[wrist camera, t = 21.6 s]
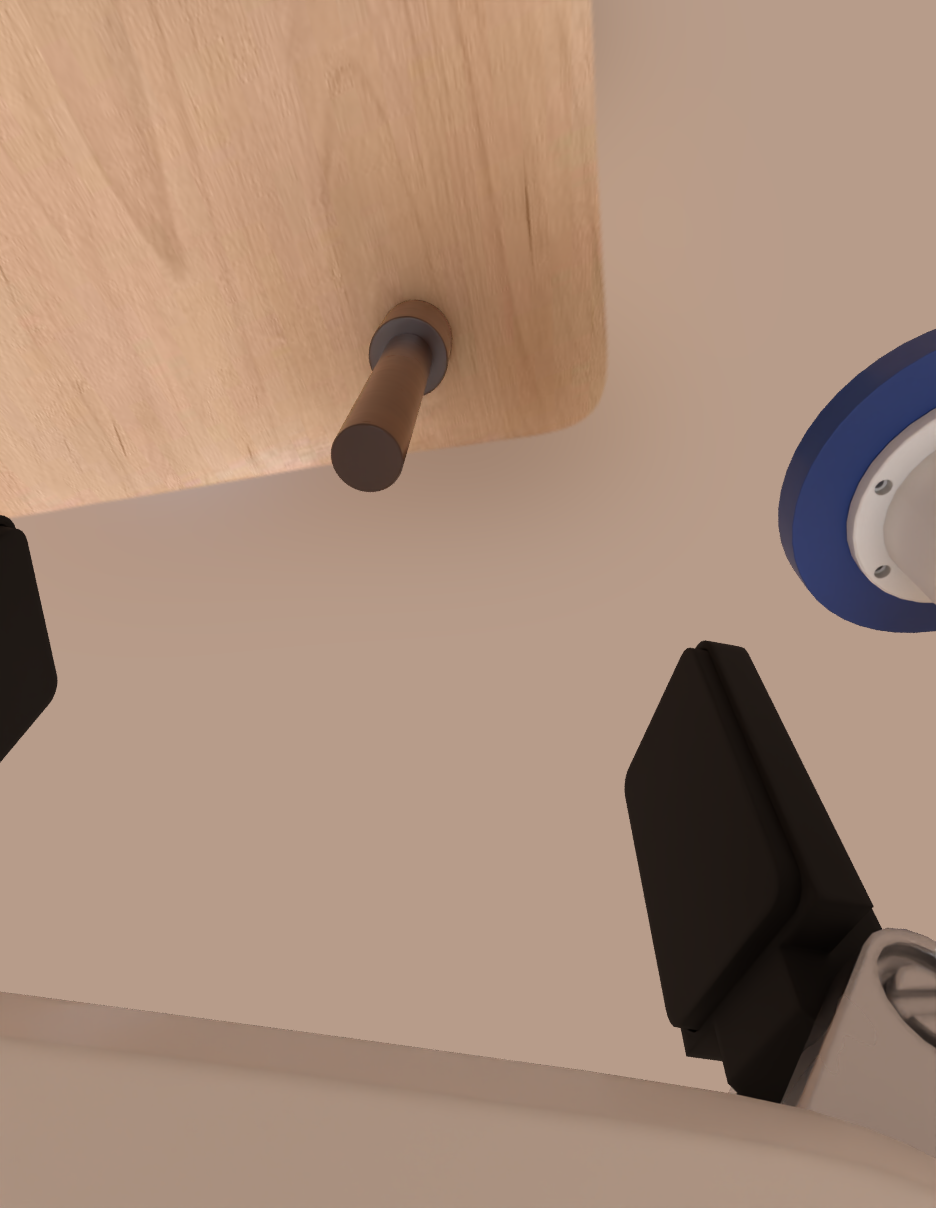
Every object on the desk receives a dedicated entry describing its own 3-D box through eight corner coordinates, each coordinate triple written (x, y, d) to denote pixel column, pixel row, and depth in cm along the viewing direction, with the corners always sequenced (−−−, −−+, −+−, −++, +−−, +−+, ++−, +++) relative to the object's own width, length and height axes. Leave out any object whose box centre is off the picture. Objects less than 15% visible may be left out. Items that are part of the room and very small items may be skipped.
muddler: (459, 310, 32) (437, 417, 19) (443, 382, 34) (413, 524, 21) (387, 290, 32) (314, 385, 19) (375, 365, 34) (301, 498, 21)
